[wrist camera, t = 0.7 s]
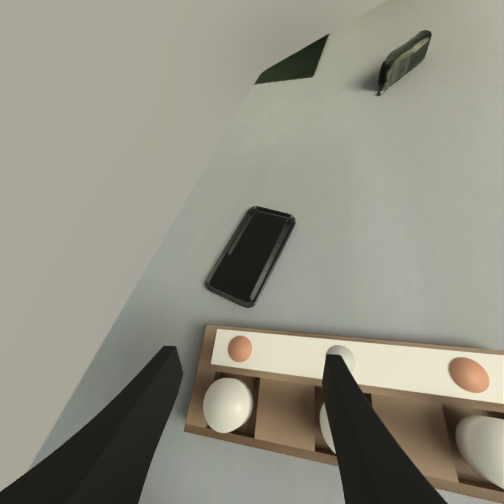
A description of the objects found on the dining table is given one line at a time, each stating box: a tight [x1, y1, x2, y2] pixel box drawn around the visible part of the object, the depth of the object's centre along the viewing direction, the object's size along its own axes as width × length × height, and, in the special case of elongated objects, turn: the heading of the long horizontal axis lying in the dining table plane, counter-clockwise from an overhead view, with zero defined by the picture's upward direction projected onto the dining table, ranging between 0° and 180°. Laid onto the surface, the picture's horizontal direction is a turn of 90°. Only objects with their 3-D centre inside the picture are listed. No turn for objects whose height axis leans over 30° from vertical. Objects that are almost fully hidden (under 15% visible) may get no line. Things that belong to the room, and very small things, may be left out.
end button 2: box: [455, 415, 504, 489], centre depth 16 cm, size 4×4×2 cm
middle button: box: [319, 403, 336, 454], centre depth 18 cm, size 4×4×2 cm
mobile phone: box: [378, 30, 432, 95], centre depth 44 cm, size 5×3×15 cm
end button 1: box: [203, 378, 253, 433], centre depth 21 cm, size 4×4×2 cm
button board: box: [184, 325, 504, 504], centre depth 22 cm, size 10×29×2 cm, turn 83°
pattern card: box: [211, 329, 504, 404], centre depth 22 cm, size 4×26×1 cm, turn 83°
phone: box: [206, 206, 295, 308], centre depth 33 cm, size 8×1×15 cm
